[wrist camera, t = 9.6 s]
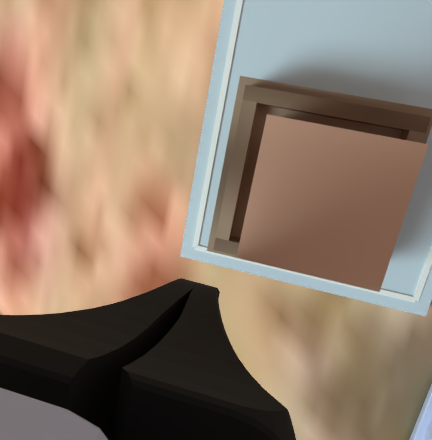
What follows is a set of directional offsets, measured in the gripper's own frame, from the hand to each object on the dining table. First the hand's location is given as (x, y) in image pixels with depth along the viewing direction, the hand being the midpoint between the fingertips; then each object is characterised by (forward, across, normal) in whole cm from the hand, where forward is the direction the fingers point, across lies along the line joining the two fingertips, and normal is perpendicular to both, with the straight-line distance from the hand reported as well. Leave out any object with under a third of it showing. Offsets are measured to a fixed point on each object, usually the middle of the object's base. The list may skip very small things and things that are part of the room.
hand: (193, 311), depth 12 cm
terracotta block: (+6, -3, -4) cm, 8 cm away
